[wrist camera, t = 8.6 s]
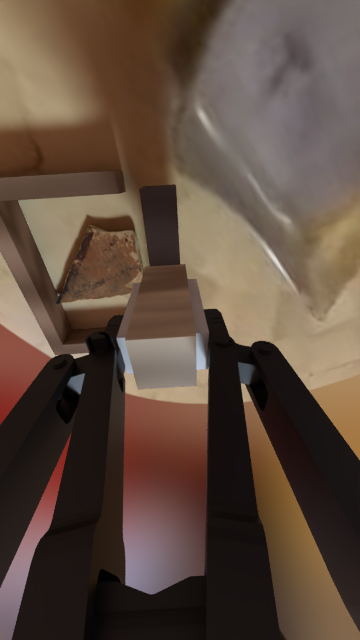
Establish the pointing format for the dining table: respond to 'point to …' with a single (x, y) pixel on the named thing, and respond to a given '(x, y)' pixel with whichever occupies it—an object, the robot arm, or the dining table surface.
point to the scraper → (162, 302)
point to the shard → (103, 266)
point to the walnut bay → (24, 258)
